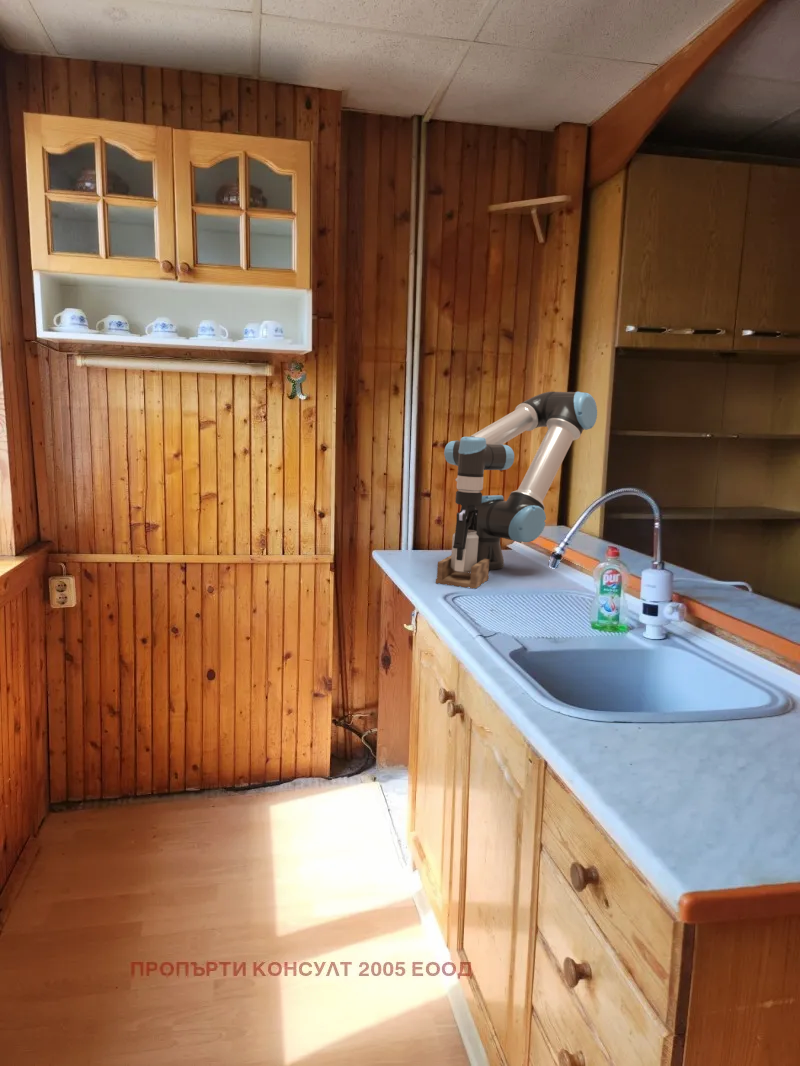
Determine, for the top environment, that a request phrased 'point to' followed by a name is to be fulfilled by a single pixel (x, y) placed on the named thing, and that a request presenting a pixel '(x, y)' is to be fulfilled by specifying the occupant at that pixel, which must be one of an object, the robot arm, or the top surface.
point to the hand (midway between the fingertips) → (463, 568)
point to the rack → (462, 574)
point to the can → (467, 551)
